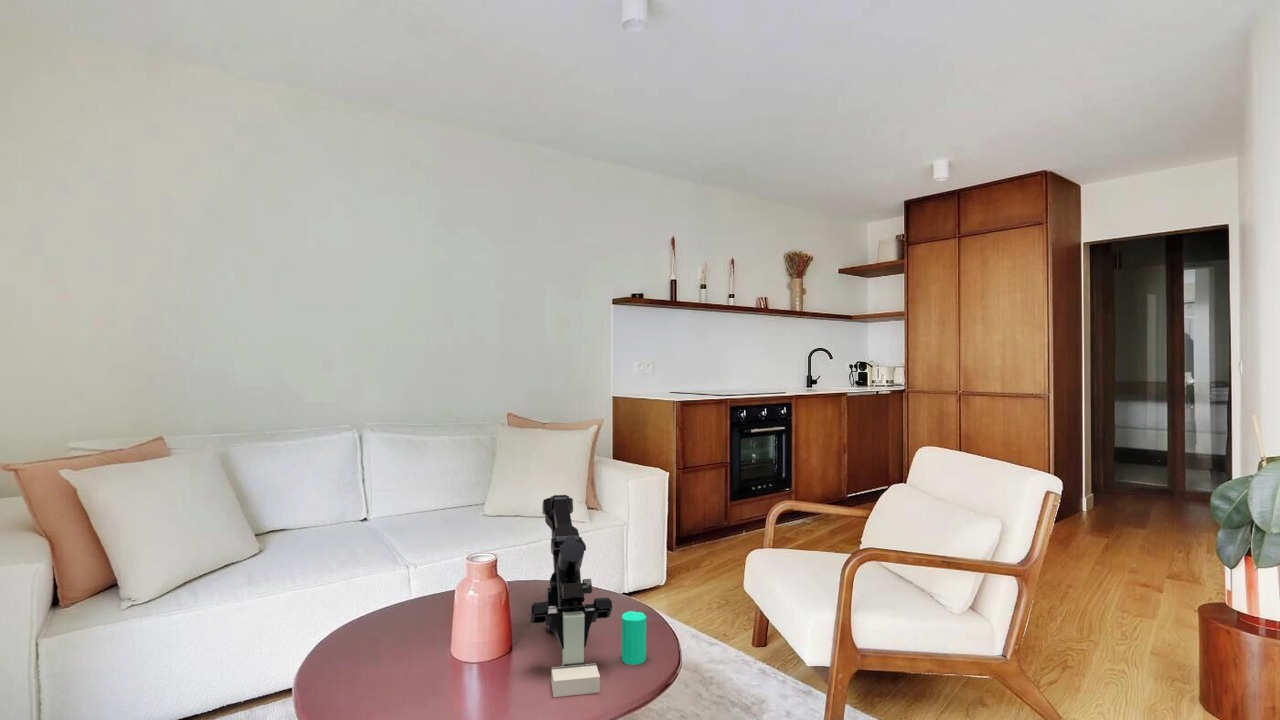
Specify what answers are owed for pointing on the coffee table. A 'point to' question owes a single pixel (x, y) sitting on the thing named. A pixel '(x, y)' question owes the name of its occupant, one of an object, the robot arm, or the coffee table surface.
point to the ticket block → (575, 680)
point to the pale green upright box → (573, 638)
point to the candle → (633, 637)
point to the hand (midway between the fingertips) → (573, 647)
